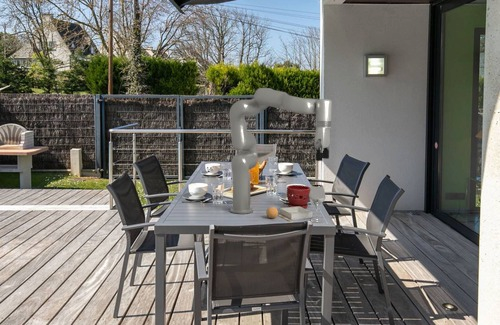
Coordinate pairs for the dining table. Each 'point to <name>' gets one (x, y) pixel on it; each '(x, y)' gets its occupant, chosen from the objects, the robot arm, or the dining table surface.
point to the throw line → (285, 218)
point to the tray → (295, 213)
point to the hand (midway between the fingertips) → (322, 159)
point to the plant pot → (298, 196)
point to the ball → (272, 212)
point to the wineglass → (317, 198)
